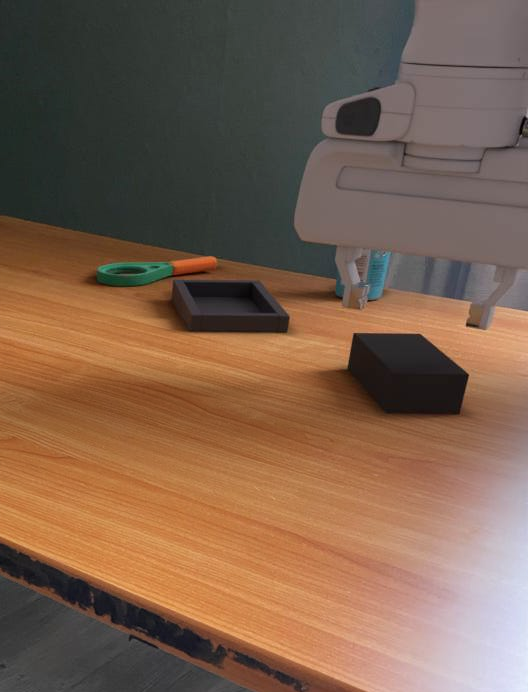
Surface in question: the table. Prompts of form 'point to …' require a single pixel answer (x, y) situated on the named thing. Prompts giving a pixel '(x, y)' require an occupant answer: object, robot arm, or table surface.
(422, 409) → the black block
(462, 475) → the table surface
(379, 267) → the tube
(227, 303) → the black tray
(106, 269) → the magnifying glass
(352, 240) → the robot arm
